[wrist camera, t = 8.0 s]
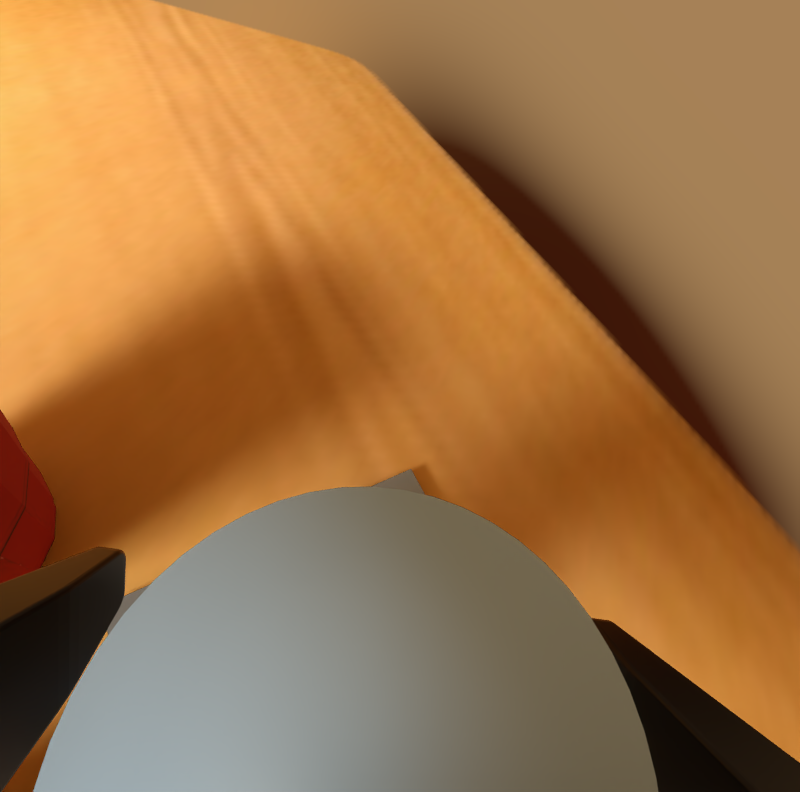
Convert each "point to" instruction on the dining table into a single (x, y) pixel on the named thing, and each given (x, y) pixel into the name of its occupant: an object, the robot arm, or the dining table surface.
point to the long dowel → (353, 665)
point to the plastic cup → (22, 509)
